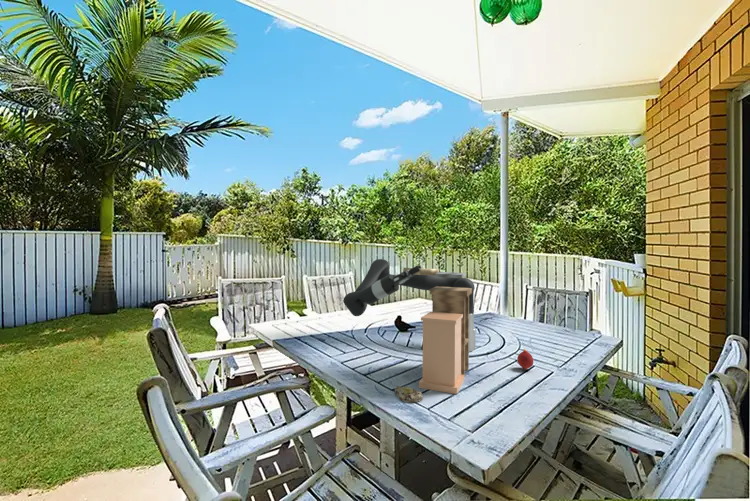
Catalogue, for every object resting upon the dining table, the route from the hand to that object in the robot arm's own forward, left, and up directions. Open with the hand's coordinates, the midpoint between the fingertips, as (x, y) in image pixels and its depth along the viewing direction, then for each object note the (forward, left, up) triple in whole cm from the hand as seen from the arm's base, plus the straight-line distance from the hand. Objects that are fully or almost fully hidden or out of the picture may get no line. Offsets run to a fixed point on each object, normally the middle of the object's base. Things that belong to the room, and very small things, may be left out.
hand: (419, 267), depth 143 cm
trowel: (-3, +4, -3) cm, 6 cm away
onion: (-36, +21, -40) cm, 57 cm away
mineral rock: (+19, +22, -40) cm, 50 cm away
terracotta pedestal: (+3, +19, -40) cm, 44 cm away
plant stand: (-8, +10, -40) cm, 42 cm away
